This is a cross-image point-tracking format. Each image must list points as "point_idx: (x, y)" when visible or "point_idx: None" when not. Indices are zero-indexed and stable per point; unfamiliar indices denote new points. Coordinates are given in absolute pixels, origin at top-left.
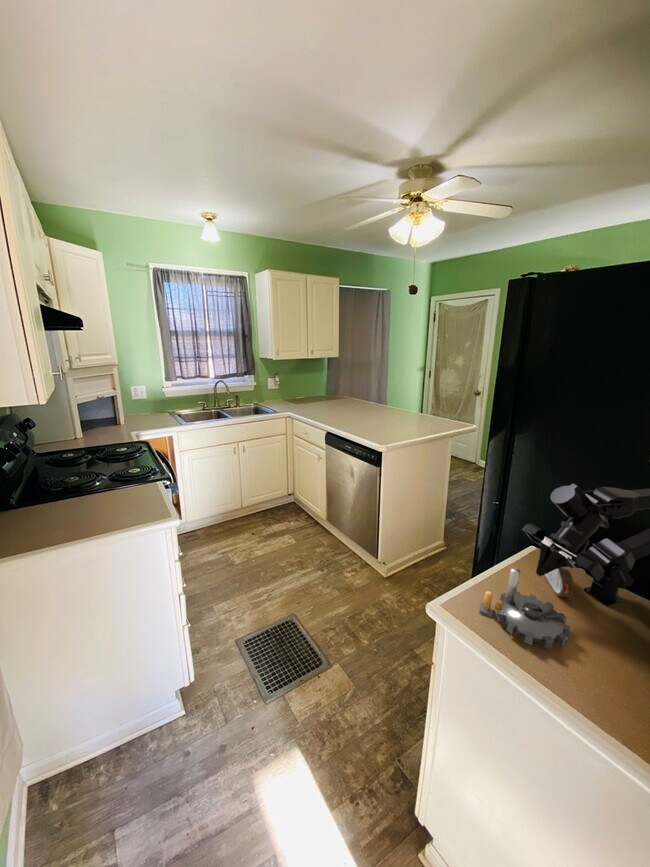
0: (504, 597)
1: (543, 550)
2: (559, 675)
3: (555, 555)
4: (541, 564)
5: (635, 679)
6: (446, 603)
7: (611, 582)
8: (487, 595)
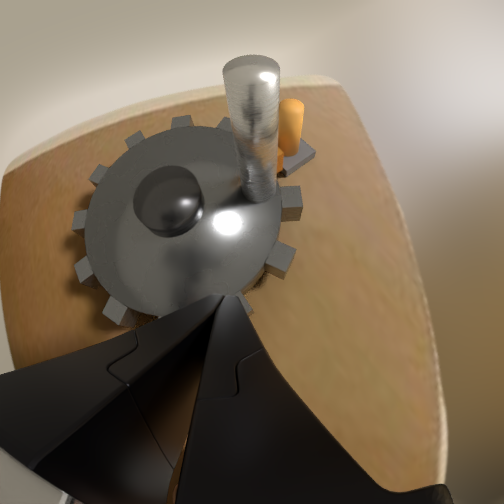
0: (281, 187)
1: (260, 434)
2: (80, 171)
3: (27, 395)
4: (214, 326)
5: (8, 311)
6: (343, 98)
7: None
8: (286, 100)
